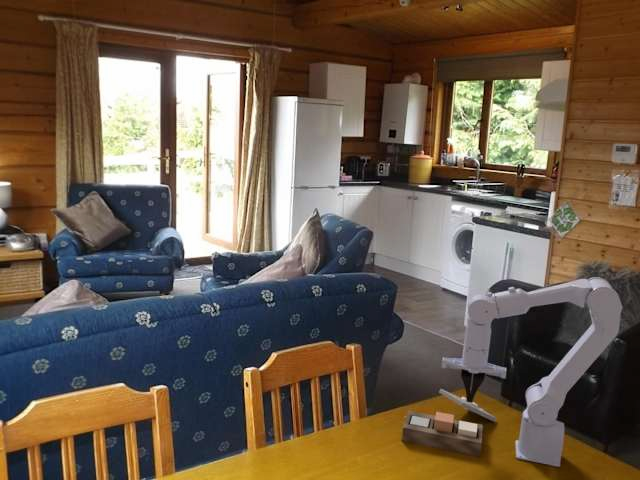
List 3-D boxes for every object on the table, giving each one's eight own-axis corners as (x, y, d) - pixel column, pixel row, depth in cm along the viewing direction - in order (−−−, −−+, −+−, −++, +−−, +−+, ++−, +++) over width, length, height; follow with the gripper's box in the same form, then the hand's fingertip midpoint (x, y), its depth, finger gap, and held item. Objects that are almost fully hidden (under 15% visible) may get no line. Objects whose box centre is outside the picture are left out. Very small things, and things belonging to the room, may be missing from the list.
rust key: (452, 426, 145) (454, 415, 145) (451, 434, 141) (452, 423, 141) (435, 423, 146) (436, 411, 146) (433, 431, 142) (434, 419, 142)
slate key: (428, 430, 147) (429, 419, 147) (426, 438, 143) (427, 427, 143) (411, 426, 148) (412, 415, 148) (408, 435, 144) (410, 423, 144)
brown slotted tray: (480, 438, 146) (482, 424, 146) (479, 457, 138) (481, 443, 137) (407, 423, 151) (408, 410, 150) (401, 440, 142) (403, 427, 142)
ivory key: (475, 435, 144) (477, 424, 143) (475, 444, 140) (476, 432, 139) (458, 431, 145) (459, 420, 144) (456, 440, 141) (458, 428, 140)
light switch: (498, 415, 155) (465, 399, 147) (488, 436, 155) (454, 421, 147) (474, 401, 162) (441, 385, 154) (464, 421, 162) (431, 406, 154)
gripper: (443, 347, 138) (437, 401, 141) (509, 357, 134) (501, 413, 137) (445, 337, 145) (439, 389, 147) (508, 346, 141) (501, 400, 144)
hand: (469, 400), depth 143 cm, fingers closed
